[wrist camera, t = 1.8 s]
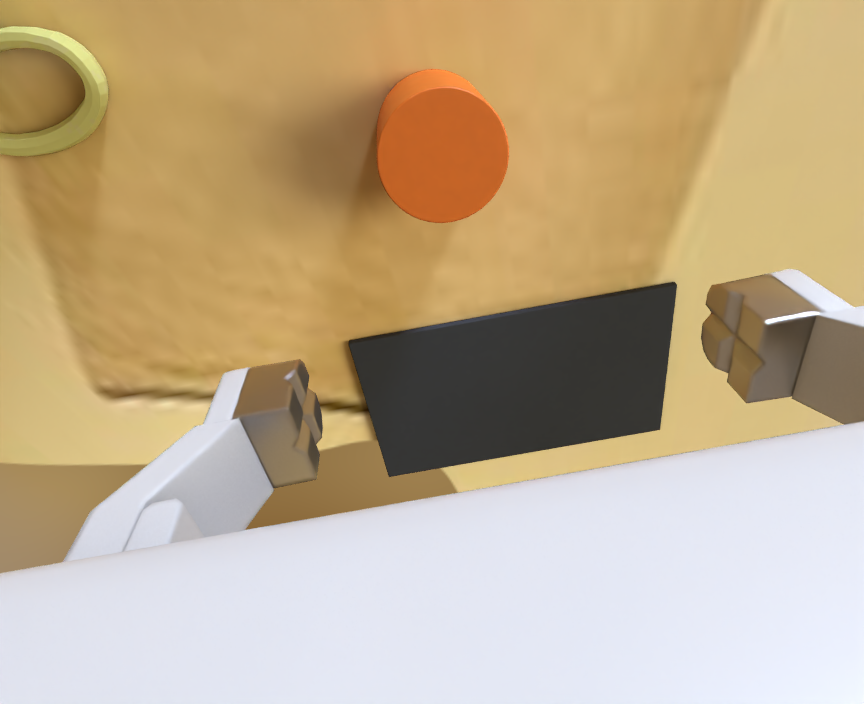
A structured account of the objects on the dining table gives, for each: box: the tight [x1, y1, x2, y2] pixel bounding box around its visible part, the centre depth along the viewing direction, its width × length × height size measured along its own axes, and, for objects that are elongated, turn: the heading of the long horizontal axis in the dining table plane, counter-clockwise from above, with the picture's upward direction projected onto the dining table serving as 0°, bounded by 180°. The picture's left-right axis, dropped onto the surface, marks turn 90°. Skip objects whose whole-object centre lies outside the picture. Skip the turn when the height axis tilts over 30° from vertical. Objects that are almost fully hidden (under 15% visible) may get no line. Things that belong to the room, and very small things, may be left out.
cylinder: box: [377, 69, 509, 223], centre depth 24 cm, size 6×6×5 cm
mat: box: [349, 282, 677, 477], centre depth 36 cm, size 20×12×1 cm, turn 99°
